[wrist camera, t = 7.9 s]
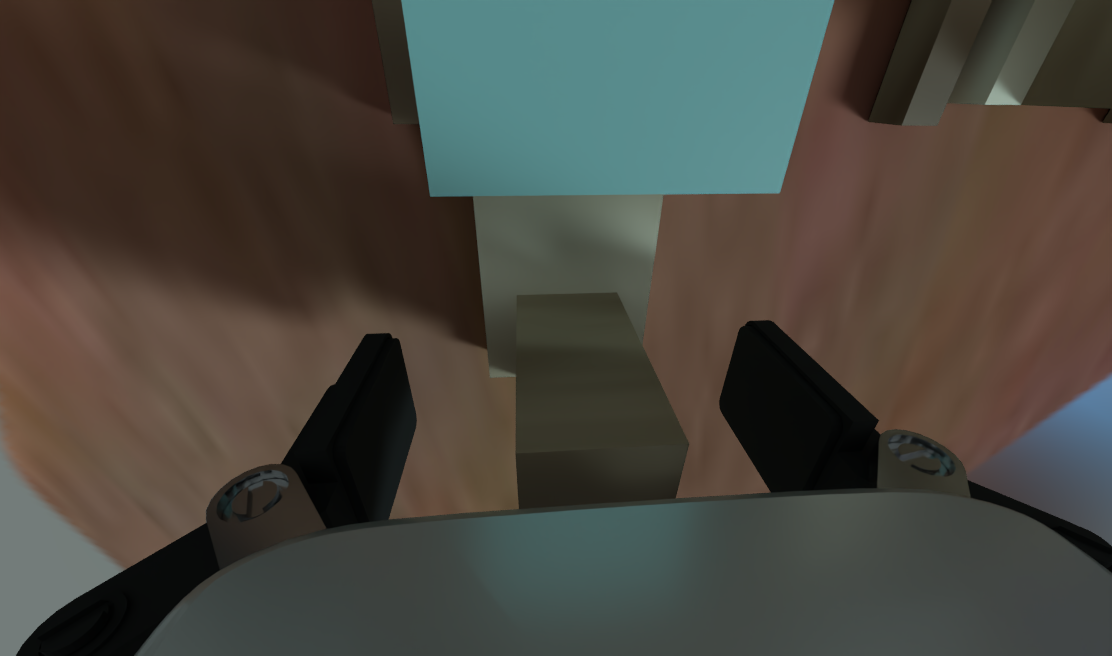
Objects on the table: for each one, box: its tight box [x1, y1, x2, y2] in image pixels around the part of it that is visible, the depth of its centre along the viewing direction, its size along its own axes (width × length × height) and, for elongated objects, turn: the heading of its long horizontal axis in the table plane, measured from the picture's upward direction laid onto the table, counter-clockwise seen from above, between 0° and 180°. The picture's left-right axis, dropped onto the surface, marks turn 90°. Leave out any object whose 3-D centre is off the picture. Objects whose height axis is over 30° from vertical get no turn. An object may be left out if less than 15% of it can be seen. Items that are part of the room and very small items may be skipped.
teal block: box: [401, 0, 834, 197], centre depth 7 cm, size 5×5×5 cm
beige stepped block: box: [473, 194, 689, 509], centre depth 9 cm, size 12×5×8 cm, turn 179°
